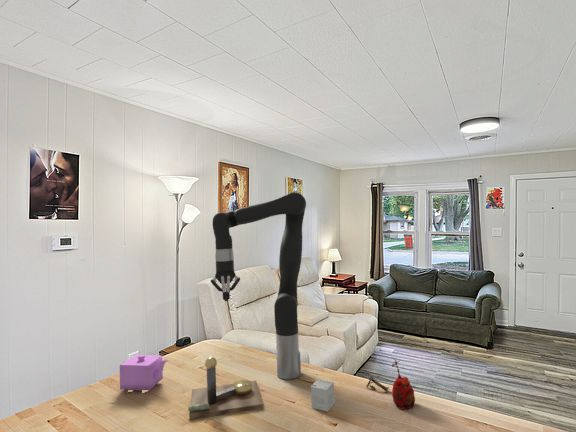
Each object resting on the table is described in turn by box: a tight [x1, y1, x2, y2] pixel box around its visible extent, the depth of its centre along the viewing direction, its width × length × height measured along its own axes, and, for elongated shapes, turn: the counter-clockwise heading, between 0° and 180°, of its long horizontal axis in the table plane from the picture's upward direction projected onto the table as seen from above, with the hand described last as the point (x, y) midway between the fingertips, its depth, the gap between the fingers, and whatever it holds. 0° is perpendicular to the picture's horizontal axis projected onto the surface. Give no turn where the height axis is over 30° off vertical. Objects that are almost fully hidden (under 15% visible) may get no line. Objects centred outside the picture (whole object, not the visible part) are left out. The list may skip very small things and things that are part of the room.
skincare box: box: [310, 379, 336, 413], centre depth 118 cm, size 6×6×7 cm
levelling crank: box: [204, 356, 252, 405], centre depth 123 cm, size 18×7×15 cm, turn 129°
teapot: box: [119, 354, 170, 391], centre depth 135 cm, size 20×10×12 cm, turn 82°
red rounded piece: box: [391, 358, 416, 411], centre depth 116 cm, size 8×7×15 cm
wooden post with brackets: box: [365, 376, 390, 393], centre depth 127 cm, size 2×8×4 cm, turn 61°
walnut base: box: [188, 380, 264, 420], centre depth 123 cm, size 24×18×3 cm
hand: (226, 300), depth 146 cm, fingers closed
